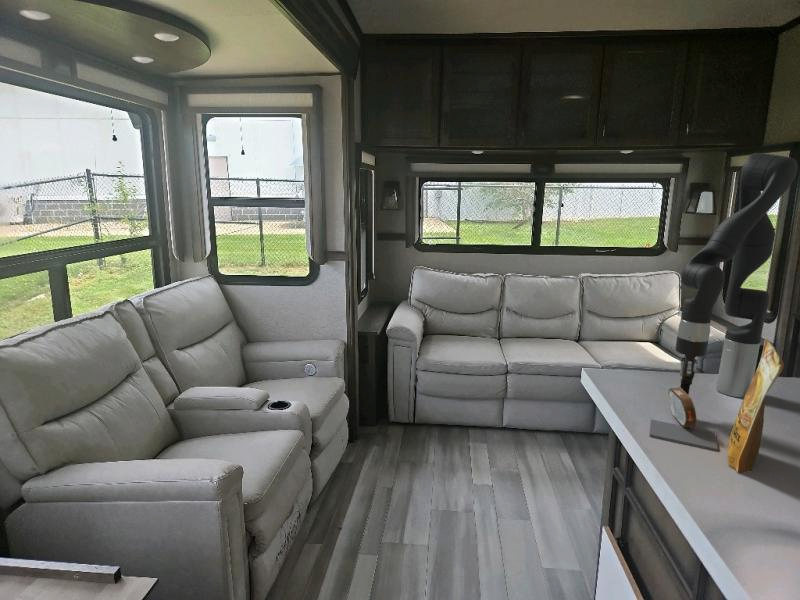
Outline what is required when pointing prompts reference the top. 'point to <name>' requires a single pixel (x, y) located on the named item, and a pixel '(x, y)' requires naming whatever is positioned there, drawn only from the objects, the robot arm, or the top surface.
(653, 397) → the top surface
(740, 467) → the pancake mix bag
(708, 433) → the mat
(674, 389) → the tin
